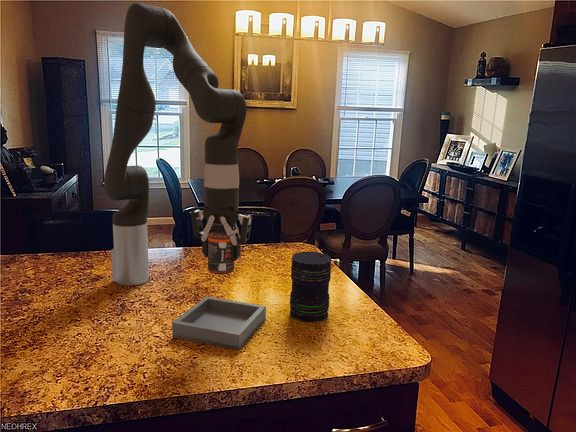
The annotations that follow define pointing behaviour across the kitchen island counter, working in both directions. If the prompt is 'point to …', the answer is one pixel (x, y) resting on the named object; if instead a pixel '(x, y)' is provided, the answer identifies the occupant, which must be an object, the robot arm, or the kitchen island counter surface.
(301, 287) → the dark cylinder
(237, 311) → the tray
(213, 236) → the supplement bottle
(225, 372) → the kitchen island counter surface
